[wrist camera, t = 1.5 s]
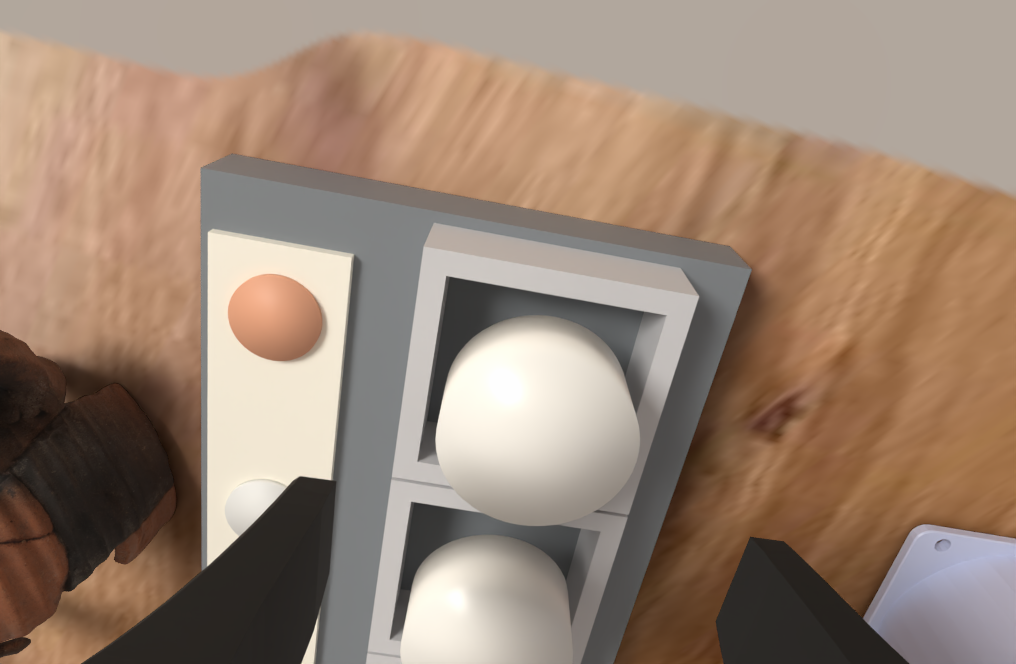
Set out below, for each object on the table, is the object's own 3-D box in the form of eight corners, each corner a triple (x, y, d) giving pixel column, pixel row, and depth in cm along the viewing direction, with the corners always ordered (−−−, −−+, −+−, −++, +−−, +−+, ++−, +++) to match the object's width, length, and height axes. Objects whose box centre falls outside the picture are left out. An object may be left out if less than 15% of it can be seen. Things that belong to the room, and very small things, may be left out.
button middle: (583, 548, 18) (591, 606, 17) (550, 661, 20) (553, 725, 18) (422, 523, 18) (411, 578, 16) (403, 640, 20) (391, 702, 18)
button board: (729, 246, 19) (778, 298, 16) (573, 716, 27) (582, 822, 24) (232, 153, 18) (161, 185, 15) (223, 666, 27) (176, 768, 23)
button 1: (647, 332, 16) (664, 373, 14) (602, 485, 18) (611, 539, 16) (459, 299, 15) (451, 336, 14) (433, 458, 17) (422, 509, 15)
